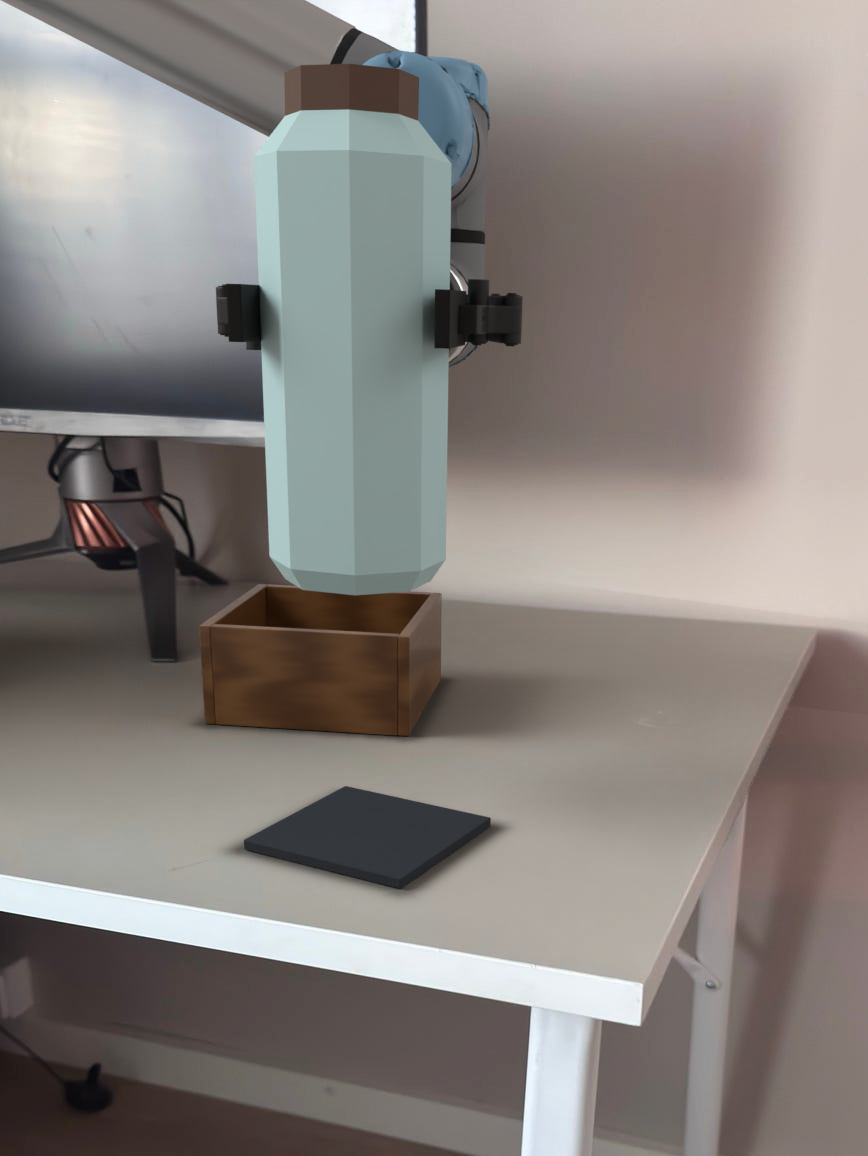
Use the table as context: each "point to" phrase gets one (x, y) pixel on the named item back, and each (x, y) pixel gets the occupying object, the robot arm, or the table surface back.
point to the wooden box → (322, 660)
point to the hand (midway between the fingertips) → (337, 316)
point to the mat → (369, 836)
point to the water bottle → (353, 332)
